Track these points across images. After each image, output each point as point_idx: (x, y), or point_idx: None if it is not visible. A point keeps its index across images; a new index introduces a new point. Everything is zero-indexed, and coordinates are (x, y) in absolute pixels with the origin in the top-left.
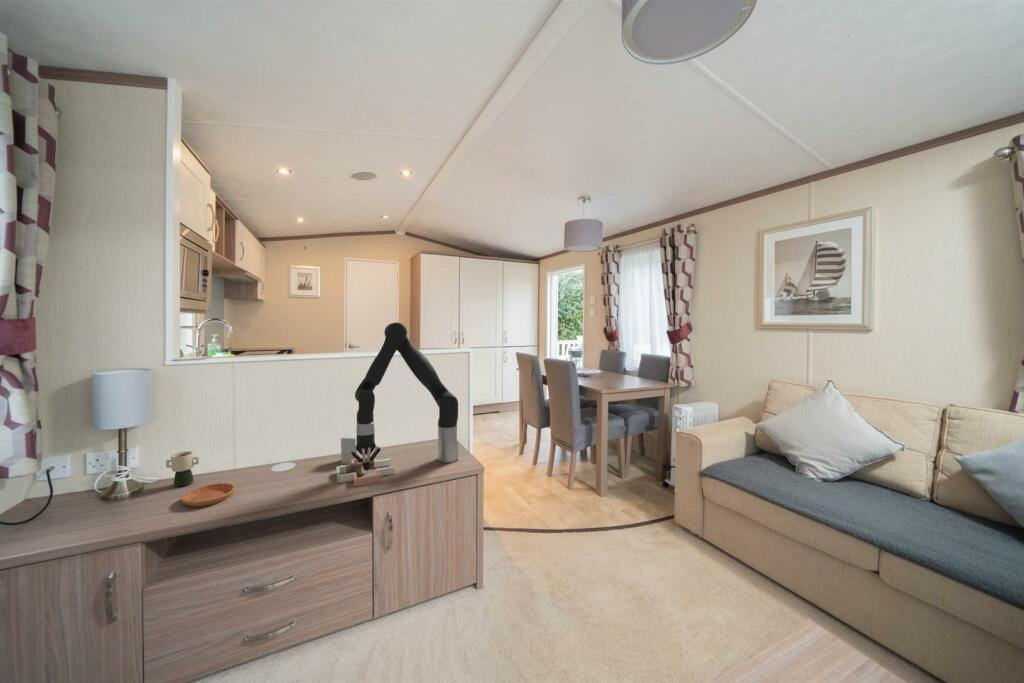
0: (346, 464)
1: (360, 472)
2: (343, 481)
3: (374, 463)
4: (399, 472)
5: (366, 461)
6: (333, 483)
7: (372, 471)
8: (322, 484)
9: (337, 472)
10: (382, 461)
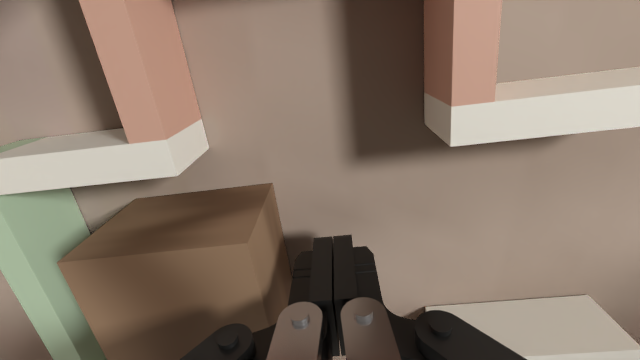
0: (67, 270)
1: None
2: None
3: (442, 139)
4: (634, 302)
5: (340, 319)
6: None
7: (394, 209)
8: (12, 337)
9: (46, 336)
10: (565, 129)
